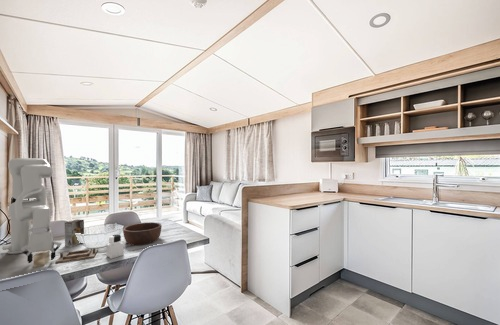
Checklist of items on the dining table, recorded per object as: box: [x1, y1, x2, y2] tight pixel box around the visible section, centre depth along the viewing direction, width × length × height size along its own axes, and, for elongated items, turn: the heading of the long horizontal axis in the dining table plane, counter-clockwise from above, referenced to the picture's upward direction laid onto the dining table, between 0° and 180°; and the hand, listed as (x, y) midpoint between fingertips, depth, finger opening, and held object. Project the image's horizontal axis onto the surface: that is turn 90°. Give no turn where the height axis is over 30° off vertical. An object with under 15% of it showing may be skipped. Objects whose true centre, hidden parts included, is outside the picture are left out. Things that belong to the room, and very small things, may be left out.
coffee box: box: [64, 219, 85, 247], centre depth 162 cm, size 9×6×16 cm
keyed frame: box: [54, 247, 99, 264], centre depth 139 cm, size 18×13×4 cm
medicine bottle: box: [105, 234, 125, 259], centre depth 140 cm, size 7×7×12 cm
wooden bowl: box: [122, 221, 162, 246], centre depth 167 cm, size 25×25×10 cm
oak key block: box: [32, 250, 51, 268], centre depth 130 cm, size 4×8×6 cm, turn 24°
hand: (41, 260), depth 130 cm, fingers open, 9 cm apart
